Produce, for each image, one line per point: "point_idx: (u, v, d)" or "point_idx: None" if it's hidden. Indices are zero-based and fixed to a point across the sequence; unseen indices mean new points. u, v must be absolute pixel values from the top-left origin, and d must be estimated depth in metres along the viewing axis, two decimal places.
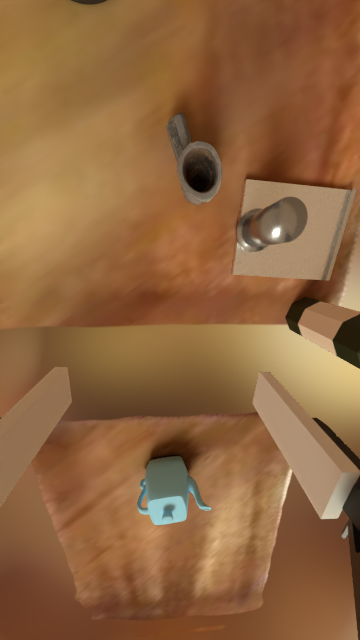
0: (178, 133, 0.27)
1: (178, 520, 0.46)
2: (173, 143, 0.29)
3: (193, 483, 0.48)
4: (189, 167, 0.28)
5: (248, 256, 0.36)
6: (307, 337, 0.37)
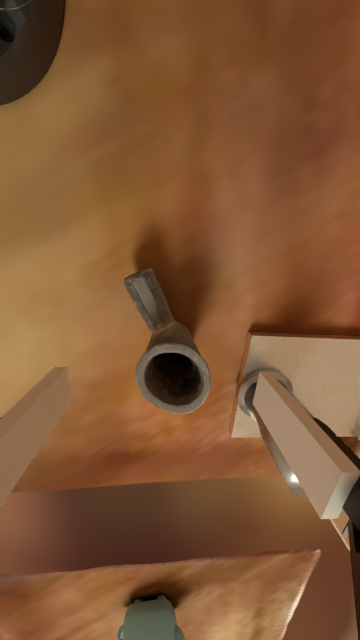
0: (142, 300, 0.17)
1: None
2: (136, 304, 0.18)
3: None
4: None
5: None
6: (332, 522, 0.27)
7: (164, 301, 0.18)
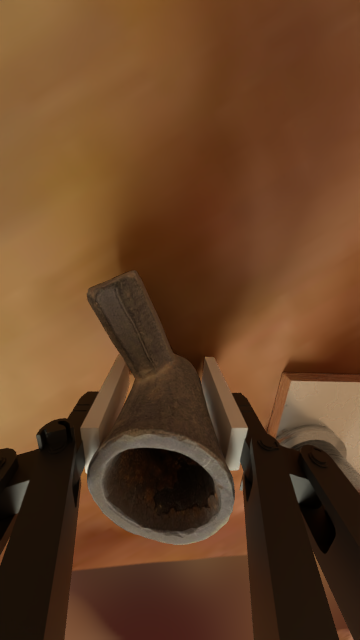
0: (114, 329, 0.09)
1: None
2: (107, 332, 0.11)
3: None
4: None
5: None
6: None
7: (155, 329, 0.11)
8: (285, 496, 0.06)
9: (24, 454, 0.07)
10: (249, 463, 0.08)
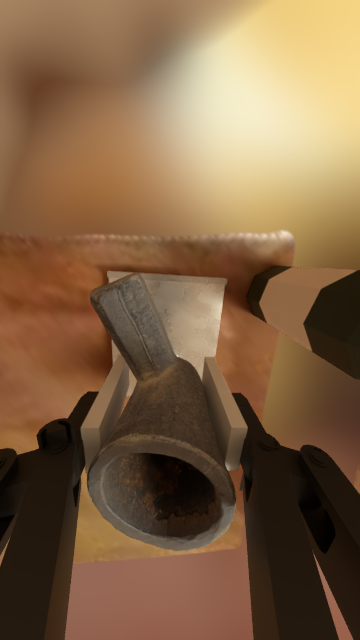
0: (117, 331, 0.09)
1: None
2: (110, 334, 0.11)
3: None
4: None
5: None
6: None
7: (158, 332, 0.10)
8: (285, 495, 0.06)
9: (24, 454, 0.07)
10: (249, 463, 0.08)
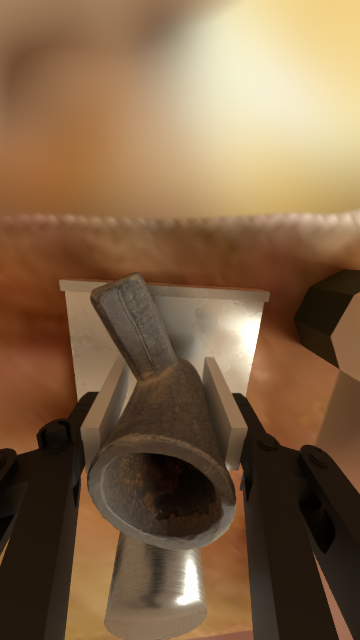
0: (117, 331, 0.09)
1: None
2: (110, 334, 0.11)
3: None
4: None
5: None
6: None
7: (158, 331, 0.10)
8: (285, 496, 0.06)
9: (24, 454, 0.07)
10: (249, 463, 0.08)
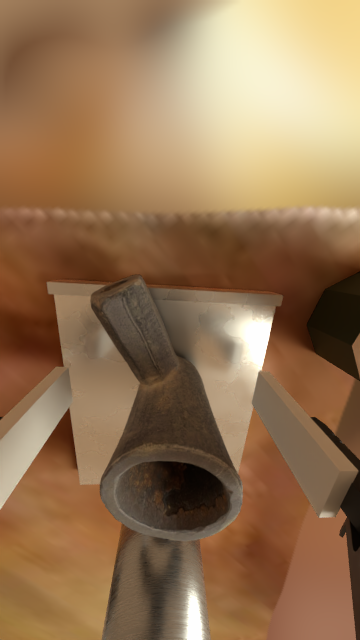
0: (121, 338, 0.09)
1: None
2: (112, 339, 0.10)
3: None
4: None
5: None
6: None
7: (162, 336, 0.10)
8: None
9: None
10: None
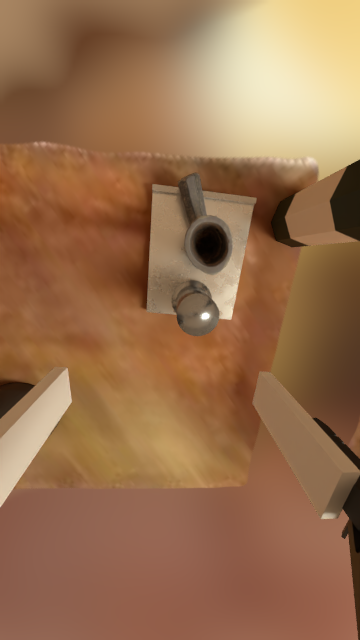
0: (190, 195, 0.25)
1: None
2: (183, 202, 0.26)
3: None
4: (198, 232, 0.26)
5: None
6: None
7: (203, 201, 0.26)
8: None
9: None
10: None
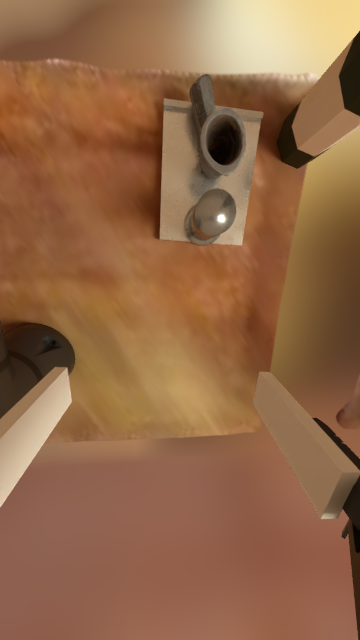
0: (203, 98, 0.26)
1: None
2: (196, 109, 0.27)
3: None
4: (211, 136, 0.27)
5: None
6: (339, 141, 0.28)
7: (215, 108, 0.27)
8: None
9: None
10: None
